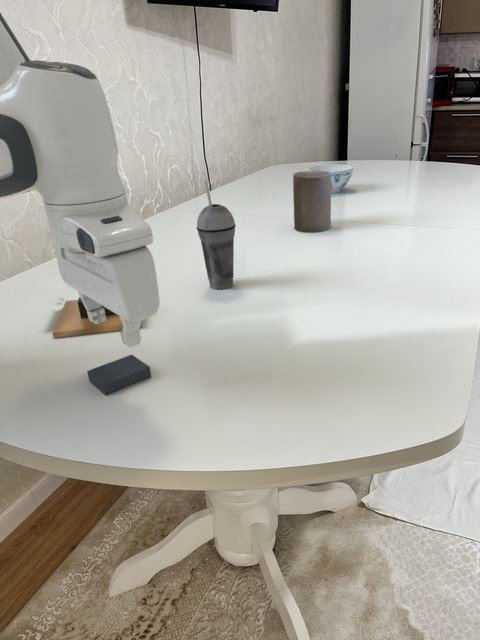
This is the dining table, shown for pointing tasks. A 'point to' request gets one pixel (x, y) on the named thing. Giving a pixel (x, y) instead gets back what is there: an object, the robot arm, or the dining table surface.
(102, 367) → the pad top
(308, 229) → the pillar candle
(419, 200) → the dining table surface
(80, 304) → the pad bottom
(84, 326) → the cork mat
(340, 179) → the chinaware
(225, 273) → the beverage cup
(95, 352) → the dining table surface
